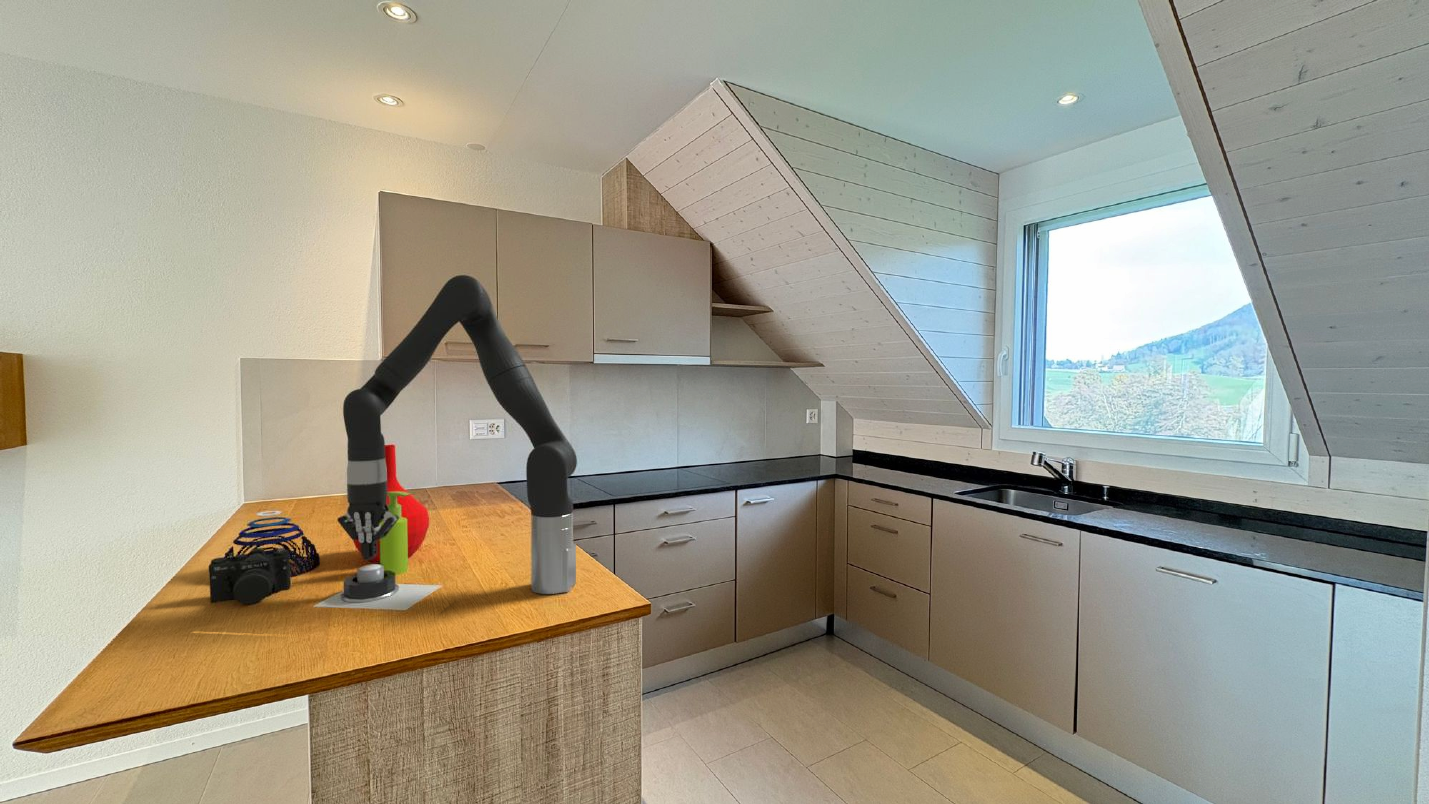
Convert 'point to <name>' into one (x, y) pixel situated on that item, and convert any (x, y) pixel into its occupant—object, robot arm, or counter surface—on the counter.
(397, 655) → the counter surface
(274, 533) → the decorative bowl
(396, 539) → the soap dispenser
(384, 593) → the black faceted bowl
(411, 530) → the vase
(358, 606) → the mat
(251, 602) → the camera
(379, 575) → the cap
